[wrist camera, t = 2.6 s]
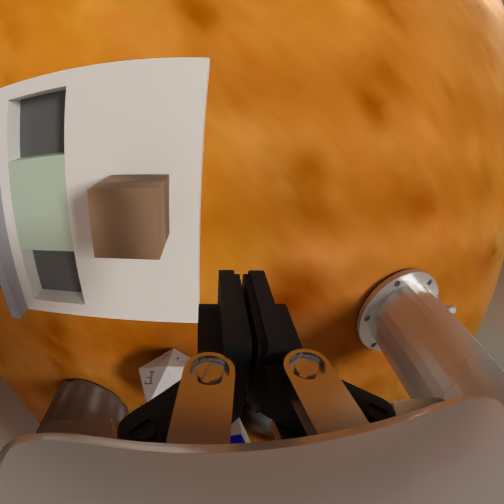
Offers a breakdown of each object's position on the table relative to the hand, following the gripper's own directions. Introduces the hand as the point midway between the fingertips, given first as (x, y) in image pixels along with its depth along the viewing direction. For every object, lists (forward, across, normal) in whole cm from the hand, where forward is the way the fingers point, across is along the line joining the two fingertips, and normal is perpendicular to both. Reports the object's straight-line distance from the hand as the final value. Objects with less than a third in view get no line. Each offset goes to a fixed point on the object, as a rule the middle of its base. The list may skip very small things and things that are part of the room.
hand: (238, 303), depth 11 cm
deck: (+16, +13, 0) cm, 21 cm away
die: (+16, +5, +21) cm, 27 cm away
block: (+14, +7, 0) cm, 16 cm away
